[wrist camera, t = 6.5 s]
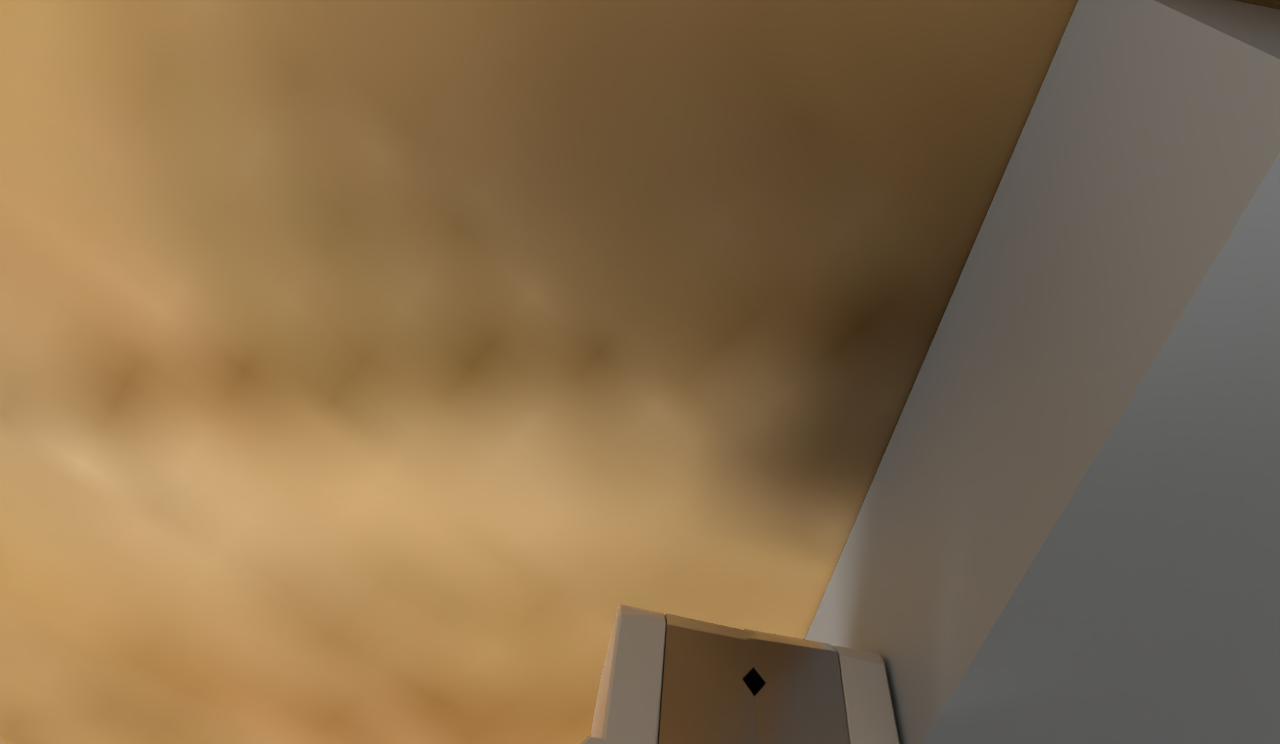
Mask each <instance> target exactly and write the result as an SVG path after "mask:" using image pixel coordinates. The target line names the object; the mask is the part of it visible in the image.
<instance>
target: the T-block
mask: <svg viewBox="0 0 1280 744" xmlns="http://www.w3.org/2000/svg"><path fill="white" fill-rule="evenodd" d="M805 640H811V641H816V642H822V643H828V644H830V645H831V646H834V645H835V646H840V647H846V648H851V649H857V650H862V651H867V652H873V653H878V654H879V655H880V656H881V658H882V659H883V661H884V663H885V668H886V673H887V679H888V684H889V689H890V694H891V700H892V705H893V710H894V715H895V721H896V726H897V731H898V736H899V742H900V744H1280V10H1279V9H1274V8H1269V7H1265V6H1260V5H1255V4H1250V3H1245V2H1240V1H1235V0H1078V2H1077V4H1076V6H1075V9H1074V11H1073V13H1072V16H1071V18H1070V20H1069V23H1068V25H1067V27H1066V30H1065V32H1064V34H1063V37H1062V39H1061V42H1060V44H1059V46H1058V49H1057V51H1056V53H1055V56H1054V58H1053V60H1052V63H1051V65H1050V67H1049V70H1048V72H1047V74H1046V77H1045V79H1044V81H1043V84H1042V86H1041V88H1040V91H1039V93H1038V95H1037V98H1036V100H1035V102H1034V105H1033V107H1032V109H1031V112H1030V114H1029V116H1028V119H1027V121H1026V123H1025V126H1024V128H1023V130H1022V133H1021V135H1020V137H1019V140H1018V142H1017V144H1016V147H1015V149H1014V151H1013V154H1012V156H1011V158H1010V161H1009V163H1008V165H1007V168H1006V170H1005V172H1004V175H1003V177H1002V180H1001V182H1000V184H999V187H998V189H997V191H996V194H995V196H994V198H993V201H992V203H991V205H990V208H989V210H988V212H987V215H986V217H985V219H984V222H983V224H982V226H981V229H980V231H979V233H978V236H977V238H976V240H975V243H974V245H973V247H972V250H971V252H970V254H969V257H968V259H967V261H966V264H965V266H964V268H963V271H962V273H961V275H960V278H959V280H958V282H957V285H956V287H955V289H954V292H953V294H952V296H951V299H950V301H949V303H948V306H947V308H946V311H945V313H944V315H943V318H942V320H941V322H940V325H939V327H938V329H937V332H936V334H935V336H934V339H933V341H932V343H931V346H930V348H929V350H928V353H927V355H926V357H925V360H924V362H923V364H922V367H921V369H920V371H919V374H918V376H917V378H916V381H915V383H914V385H913V388H912V390H911V392H910V395H909V397H908V399H907V402H906V404H905V406H904V409H903V411H902V413H901V416H900V418H899V420H898V423H897V425H896V427H895V430H894V432H893V434H892V437H891V439H890V441H889V444H888V446H887V449H886V451H885V453H884V456H883V458H882V460H881V463H880V465H879V467H878V470H877V472H876V474H875V477H874V479H873V481H872V484H871V486H870V488H869V491H868V493H867V495H866V498H865V500H864V502H863V505H862V507H861V509H860V512H859V514H858V516H857V519H856V521H855V523H854V526H853V528H852V530H851V533H850V535H849V537H848V540H847V542H846V544H845V547H844V549H843V551H842V554H841V556H840V558H839V561H838V563H837V565H836V568H835V570H834V572H833V575H832V577H831V579H830V582H829V584H828V587H827V589H826V591H825V594H824V596H823V598H822V601H821V603H820V605H819V608H818V610H817V612H816V615H815V617H814V619H813V622H812V624H811V626H810V629H809V631H808V633H807V636H806V638H805Z"/></svg>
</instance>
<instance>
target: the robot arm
mask: <svg viewBox="0 0 1280 744" xmlns="http://www.w3.org/2000/svg"><path fill="white" fill-rule="evenodd" d="M581 744H900V742H899V736H898V731H897V726H896V721H895V715H894V710H893V705H892V700H891V694H890V689H889V684H888V679H887V673H886V668H885V663H884V661H883V659H882V658H881V656H880V655H879V654H878V653H873V652H867V651H862V650H857V649H851V648H846V647H840V646H835V645H834V646H831V645H830V644H828V643H822V642H816V641H811V640H805V639H799V638H793V637H788V636H782V635H776V634H770V633H765V632H759V631H753V630H747V629H744V630H741V629H736V628H732V627H727V626H722V625H718V624H713V623H708V622H704V621H699V620H694V619H690V618H685V617H680V616H676V615H671V614H665V615H664V613H659V612H654V611H650V610H645V609H640V608H635V607H630V606H625V605H620V606H619V608H618V611H617V615H616V619H615V623H614V627H613V631H612V635H611V639H610V643H609V647H608V651H607V655H606V659H605V663H604V667H603V672H602V677H601V682H600V687H599V692H598V697H597V702H596V707H595V711H594V718H593V725H592V732H591V737H590V736H588V737H587V738H586V739H585V740H584V741H583V742H582V743H581Z"/></svg>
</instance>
